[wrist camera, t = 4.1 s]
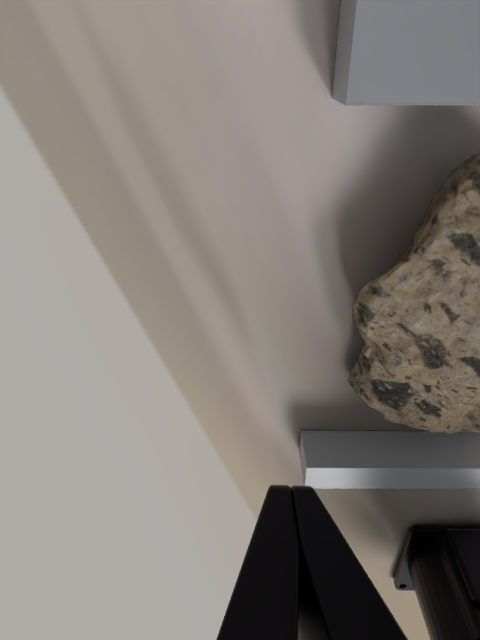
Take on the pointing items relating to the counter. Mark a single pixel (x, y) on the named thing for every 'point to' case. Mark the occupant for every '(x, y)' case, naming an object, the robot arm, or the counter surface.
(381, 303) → the rock
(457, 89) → the bay
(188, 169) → the counter surface
